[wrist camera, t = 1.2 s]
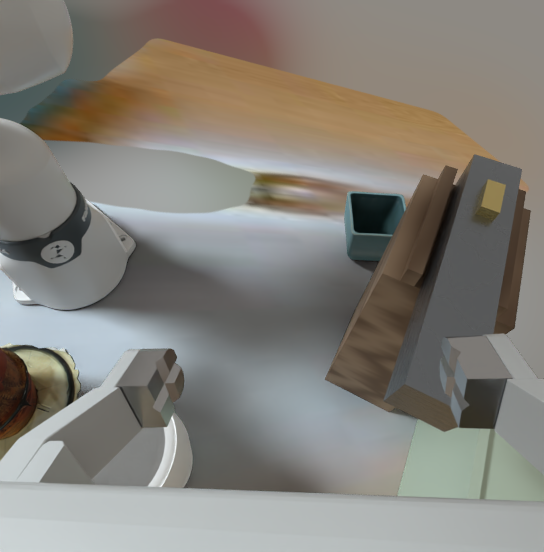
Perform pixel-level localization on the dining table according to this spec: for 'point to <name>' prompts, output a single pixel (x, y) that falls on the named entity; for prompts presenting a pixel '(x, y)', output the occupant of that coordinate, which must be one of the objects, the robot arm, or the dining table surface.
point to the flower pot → (371, 223)
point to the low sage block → (468, 466)
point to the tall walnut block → (412, 291)
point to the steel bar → (457, 287)
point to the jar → (152, 459)
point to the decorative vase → (32, 389)
